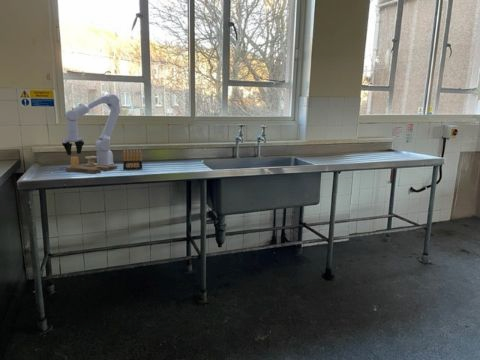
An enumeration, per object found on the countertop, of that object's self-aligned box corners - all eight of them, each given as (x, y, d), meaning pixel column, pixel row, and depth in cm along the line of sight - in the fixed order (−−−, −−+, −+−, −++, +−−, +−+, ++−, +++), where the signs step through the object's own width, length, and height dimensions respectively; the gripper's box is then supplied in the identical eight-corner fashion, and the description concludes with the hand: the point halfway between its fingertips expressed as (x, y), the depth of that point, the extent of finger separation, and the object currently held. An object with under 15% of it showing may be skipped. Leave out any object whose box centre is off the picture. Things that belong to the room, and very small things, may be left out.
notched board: (89, 166, 216) (89, 163, 216) (116, 168, 210) (116, 165, 210) (66, 170, 200) (65, 167, 199) (95, 173, 193) (95, 170, 193)
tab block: (75, 166, 215) (74, 156, 214) (79, 166, 214) (78, 156, 213) (71, 167, 213) (70, 157, 211) (75, 167, 212) (74, 157, 211)
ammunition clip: (142, 168, 212) (141, 148, 210) (142, 169, 211) (141, 148, 208) (123, 169, 209) (122, 148, 207) (123, 169, 207) (122, 149, 205)
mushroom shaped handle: (90, 164, 212) (90, 155, 211) (99, 164, 210) (98, 156, 209) (83, 165, 206) (82, 157, 205) (91, 166, 204) (91, 157, 203)
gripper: (76, 130, 217) (77, 152, 220) (57, 131, 204) (59, 155, 207) (85, 130, 215) (87, 153, 218) (67, 132, 202) (68, 155, 204)
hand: (74, 154), depth 212 cm, fingers open, 7 cm apart
